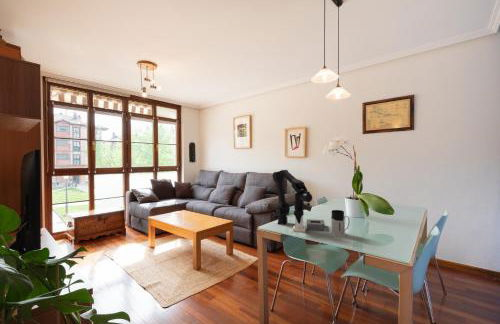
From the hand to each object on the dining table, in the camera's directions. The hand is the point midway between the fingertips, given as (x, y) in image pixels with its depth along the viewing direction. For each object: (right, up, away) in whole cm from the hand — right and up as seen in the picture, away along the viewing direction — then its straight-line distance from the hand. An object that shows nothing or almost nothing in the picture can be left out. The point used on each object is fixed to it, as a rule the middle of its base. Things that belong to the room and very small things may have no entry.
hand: (299, 222), depth 160 cm
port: (+13, -5, +5) cm, 15 cm away
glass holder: (+24, -5, -13) cm, 27 cm away
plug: (0, -3, 0) cm, 3 cm away
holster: (0, -5, 0) cm, 5 cm away
